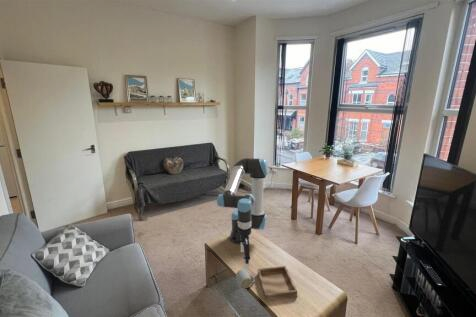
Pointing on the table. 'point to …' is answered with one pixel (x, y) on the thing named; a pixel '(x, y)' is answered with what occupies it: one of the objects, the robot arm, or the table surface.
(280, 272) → the crate
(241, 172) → the robot arm
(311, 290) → the table surface
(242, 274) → the ceramic mug
